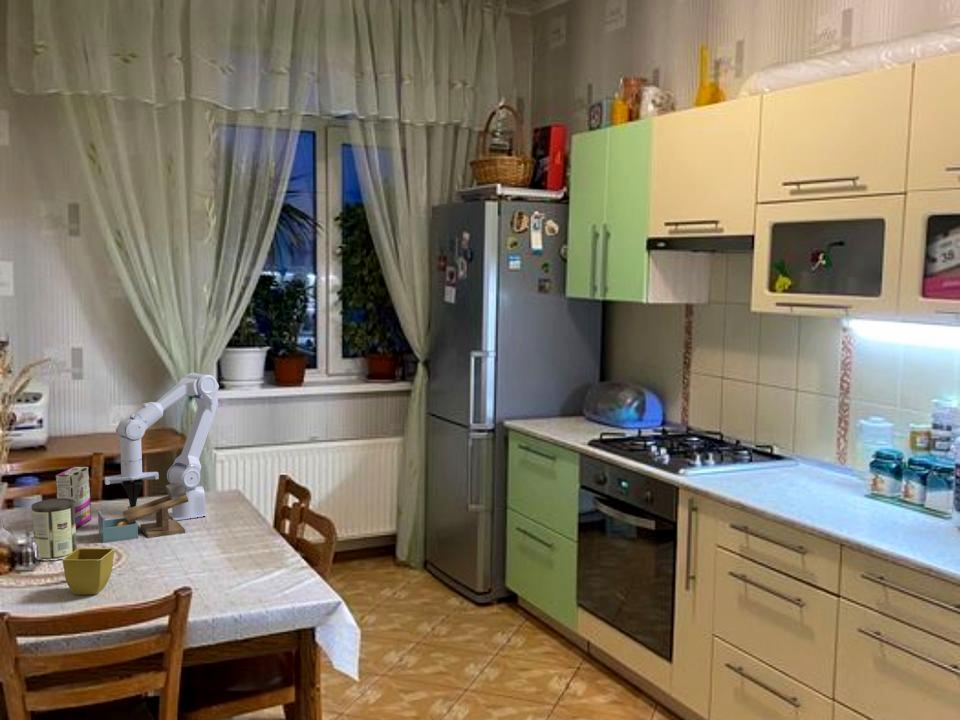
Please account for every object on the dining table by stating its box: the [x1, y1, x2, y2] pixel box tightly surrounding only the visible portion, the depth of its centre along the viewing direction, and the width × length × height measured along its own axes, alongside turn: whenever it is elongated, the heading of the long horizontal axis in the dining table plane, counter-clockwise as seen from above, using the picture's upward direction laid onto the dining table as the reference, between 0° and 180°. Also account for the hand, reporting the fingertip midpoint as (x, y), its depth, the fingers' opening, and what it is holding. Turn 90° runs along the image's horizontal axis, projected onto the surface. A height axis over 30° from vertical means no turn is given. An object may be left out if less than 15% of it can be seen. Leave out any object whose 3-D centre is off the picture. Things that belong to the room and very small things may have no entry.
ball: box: [117, 522, 129, 526], centre depth 251 cm, size 4×4×4 cm
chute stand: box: [139, 507, 186, 539], centre depth 256 cm, size 10×12×8 cm
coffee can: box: [31, 498, 78, 560], centre depth 233 cm, size 10×10×14 cm
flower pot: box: [62, 547, 115, 595], centre depth 206 cm, size 9×9×9 cm
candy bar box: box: [55, 466, 92, 530], centre depth 261 cm, size 11×5×16 cm, turn 179°
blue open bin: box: [97, 510, 139, 544], centre depth 250 cm, size 9×9×7 cm
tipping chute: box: [122, 481, 188, 523], centre depth 257 cm, size 17×12×5 cm
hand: (132, 505), depth 259 cm, fingers closed
